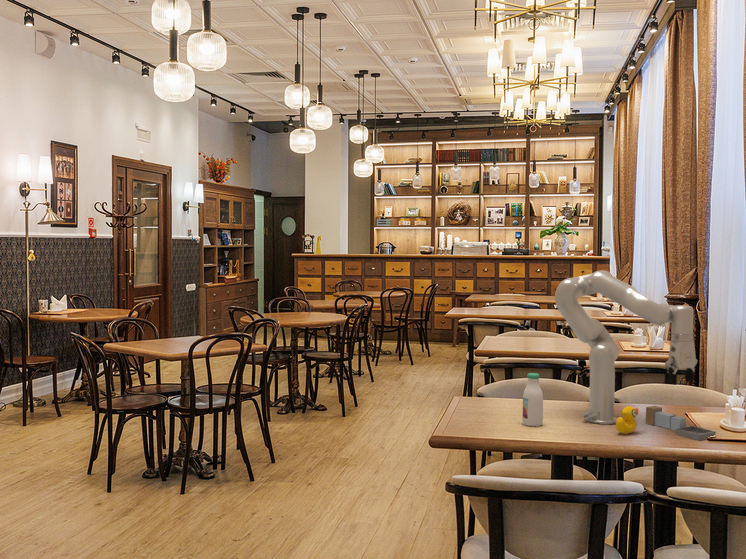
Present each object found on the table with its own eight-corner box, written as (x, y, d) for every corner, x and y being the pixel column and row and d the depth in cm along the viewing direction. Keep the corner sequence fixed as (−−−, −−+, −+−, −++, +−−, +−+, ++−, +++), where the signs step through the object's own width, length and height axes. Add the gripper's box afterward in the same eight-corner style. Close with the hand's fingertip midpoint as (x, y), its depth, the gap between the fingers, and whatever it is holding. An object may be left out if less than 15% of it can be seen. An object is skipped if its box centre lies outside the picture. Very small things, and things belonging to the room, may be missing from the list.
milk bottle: (544, 423, 269) (545, 373, 268) (540, 427, 262) (541, 376, 261) (524, 421, 272) (525, 371, 271) (520, 425, 265) (521, 374, 264)
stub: (679, 432, 257) (680, 418, 257) (670, 429, 261) (670, 416, 261) (685, 431, 259) (686, 417, 259) (676, 428, 263) (677, 415, 262)
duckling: (631, 429, 261) (631, 403, 260) (643, 432, 256) (643, 406, 256) (611, 433, 255) (612, 407, 254) (623, 437, 250) (624, 410, 250)
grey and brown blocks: (668, 429, 261) (668, 412, 261) (645, 423, 270) (646, 407, 270) (677, 427, 263) (677, 411, 263) (654, 421, 273) (654, 405, 272)
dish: (698, 440, 246) (698, 434, 246) (675, 434, 254) (675, 428, 254) (715, 437, 251) (715, 431, 251) (692, 430, 259) (692, 425, 259)
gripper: (675, 340, 251) (674, 386, 251) (705, 337, 259) (704, 382, 260) (658, 338, 257) (657, 383, 258) (688, 335, 266) (687, 379, 266)
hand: (680, 383), depth 259 cm, fingers open, 9 cm apart
